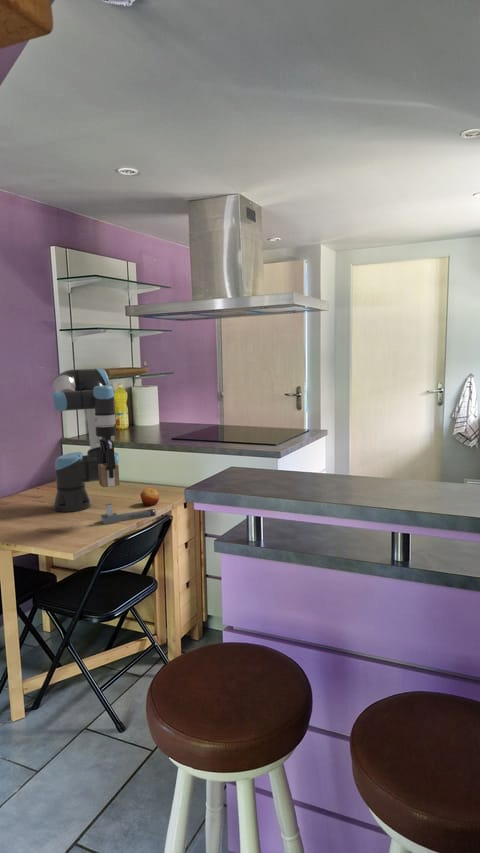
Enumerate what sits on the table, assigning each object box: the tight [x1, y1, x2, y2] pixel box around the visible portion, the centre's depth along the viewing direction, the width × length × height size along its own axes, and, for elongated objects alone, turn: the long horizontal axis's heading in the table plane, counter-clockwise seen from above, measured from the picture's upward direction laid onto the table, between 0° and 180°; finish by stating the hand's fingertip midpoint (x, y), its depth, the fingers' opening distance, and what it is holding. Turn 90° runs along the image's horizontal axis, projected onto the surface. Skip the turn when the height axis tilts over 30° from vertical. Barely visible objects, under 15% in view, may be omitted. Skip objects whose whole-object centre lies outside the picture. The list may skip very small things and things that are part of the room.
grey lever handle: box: [100, 503, 157, 526], centre depth 216 cm, size 5×22×7 cm, turn 116°
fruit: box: [140, 487, 160, 507], centre depth 236 cm, size 8×8×8 cm
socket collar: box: [98, 463, 121, 488], centre depth 211 cm, size 6×6×8 cm
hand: (109, 483), depth 211 cm, fingers closed on socket collar, 6 cm apart
